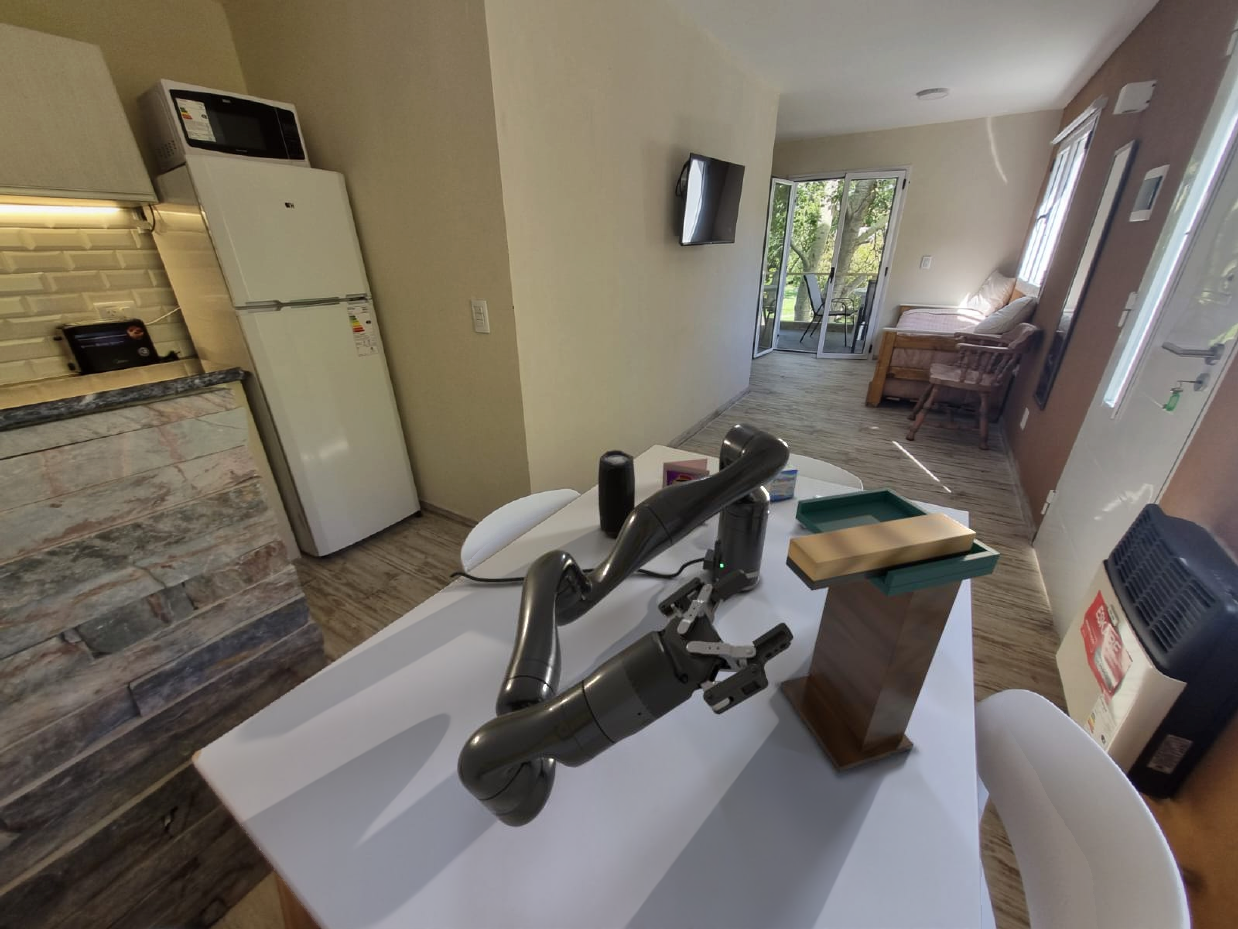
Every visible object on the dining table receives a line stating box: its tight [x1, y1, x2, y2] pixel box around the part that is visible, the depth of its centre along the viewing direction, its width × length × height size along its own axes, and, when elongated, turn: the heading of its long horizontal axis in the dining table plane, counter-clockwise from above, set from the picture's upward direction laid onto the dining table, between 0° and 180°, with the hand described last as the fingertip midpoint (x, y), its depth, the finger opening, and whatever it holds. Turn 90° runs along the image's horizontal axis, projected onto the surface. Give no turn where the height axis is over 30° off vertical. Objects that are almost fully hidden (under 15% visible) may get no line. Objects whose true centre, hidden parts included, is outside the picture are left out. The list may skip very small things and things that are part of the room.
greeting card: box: [661, 458, 711, 526], centre depth 120 cm, size 11×7×15 cm, turn 67°
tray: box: [795, 486, 1001, 597], centre depth 57 cm, size 14×16×3 cm
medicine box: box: [764, 463, 799, 502], centre depth 131 cm, size 8×4×9 cm, turn 105°
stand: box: [779, 579, 964, 773], centre depth 65 cm, size 12×14×31 cm
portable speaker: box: [597, 449, 636, 539], centre depth 113 cm, size 9×9×20 cm
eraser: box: [785, 512, 977, 592], centre depth 52 cm, size 20×5×3 cm, turn 106°
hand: (765, 600), depth 50 cm, fingers open, 8 cm apart
